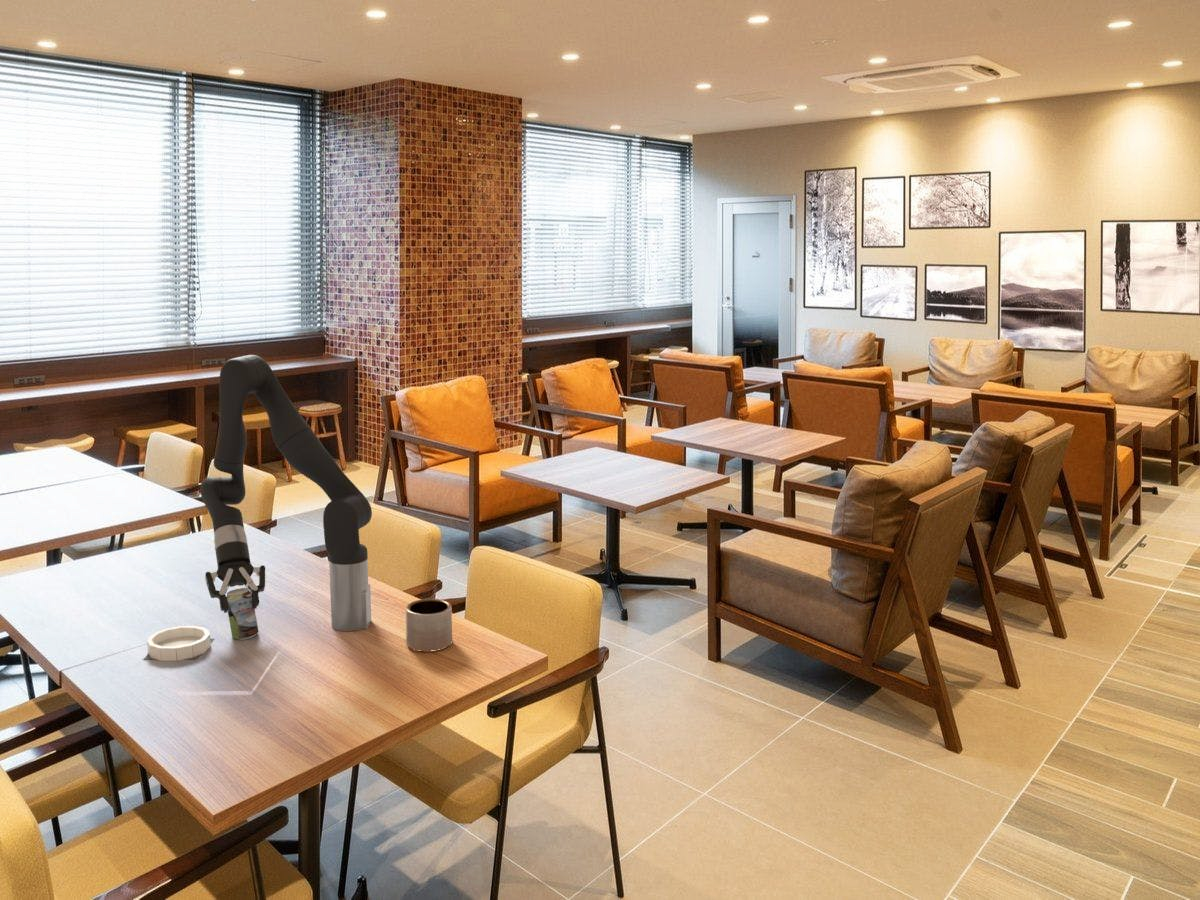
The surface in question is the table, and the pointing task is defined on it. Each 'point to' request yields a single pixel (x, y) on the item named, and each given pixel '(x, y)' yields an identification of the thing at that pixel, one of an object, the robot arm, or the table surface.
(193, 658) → the mat
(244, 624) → the beverage can
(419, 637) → the planter
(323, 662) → the table surface
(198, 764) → the table surface
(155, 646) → the bowl
